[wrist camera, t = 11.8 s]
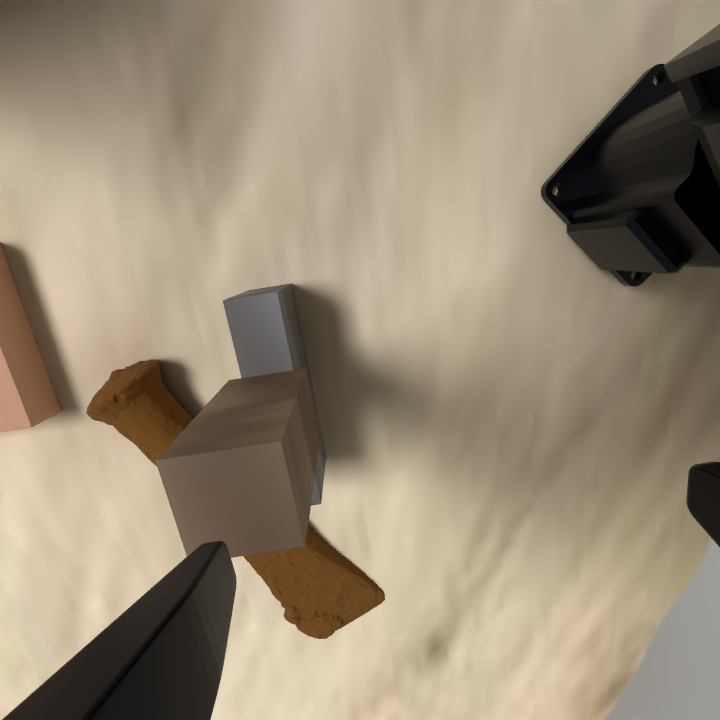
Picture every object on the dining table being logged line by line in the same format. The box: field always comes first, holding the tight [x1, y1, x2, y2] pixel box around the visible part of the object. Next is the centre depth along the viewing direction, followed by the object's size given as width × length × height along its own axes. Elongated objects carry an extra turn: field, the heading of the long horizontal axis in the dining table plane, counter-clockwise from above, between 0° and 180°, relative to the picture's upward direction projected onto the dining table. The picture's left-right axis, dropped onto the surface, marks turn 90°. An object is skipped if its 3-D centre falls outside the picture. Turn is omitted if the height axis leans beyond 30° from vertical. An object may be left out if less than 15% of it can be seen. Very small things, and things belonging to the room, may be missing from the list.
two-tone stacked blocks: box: [156, 284, 326, 558], centre depth 14 cm, size 3×9×10 cm, turn 9°
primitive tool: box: [86, 360, 385, 639], centre depth 20 cm, size 19×6×4 cm, turn 37°
